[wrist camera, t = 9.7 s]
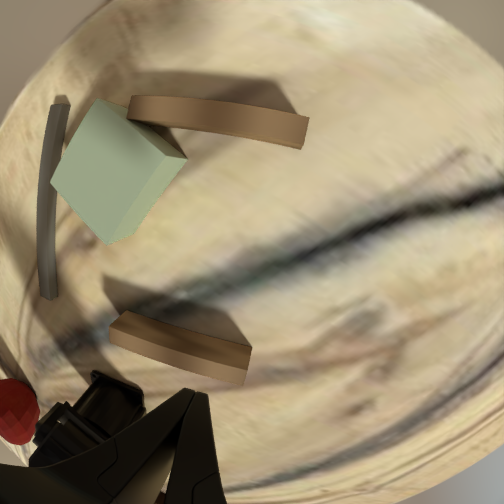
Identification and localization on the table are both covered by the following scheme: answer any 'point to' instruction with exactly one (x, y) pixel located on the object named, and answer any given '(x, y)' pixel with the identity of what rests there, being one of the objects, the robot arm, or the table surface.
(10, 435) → the apple
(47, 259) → the set of wooden bars
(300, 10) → the table surface
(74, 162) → the sage block
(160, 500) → the coffee mug
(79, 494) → the robot arm
